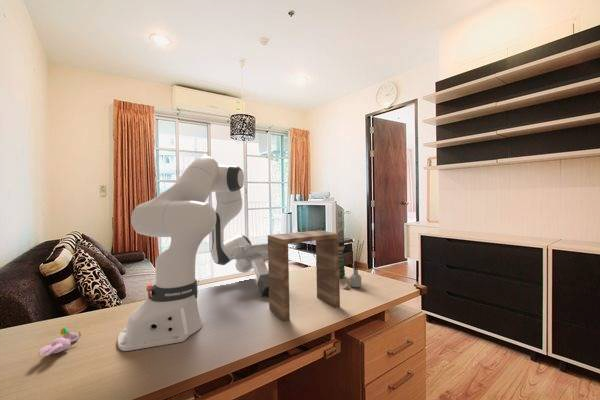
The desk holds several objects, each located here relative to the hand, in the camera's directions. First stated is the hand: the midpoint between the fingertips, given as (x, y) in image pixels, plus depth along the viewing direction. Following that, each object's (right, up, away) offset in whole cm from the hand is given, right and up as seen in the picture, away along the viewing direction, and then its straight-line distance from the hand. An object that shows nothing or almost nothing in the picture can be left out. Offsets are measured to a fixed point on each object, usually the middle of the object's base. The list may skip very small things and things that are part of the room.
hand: (260, 244), depth 120 cm
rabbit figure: (-47, -22, -45) cm, 68 cm away
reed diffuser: (+40, -19, +1) cm, 44 cm away
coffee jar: (+33, -19, +17) cm, 42 cm away
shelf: (+18, -20, -19) cm, 33 cm away
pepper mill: (0, -14, +1) cm, 14 cm away
